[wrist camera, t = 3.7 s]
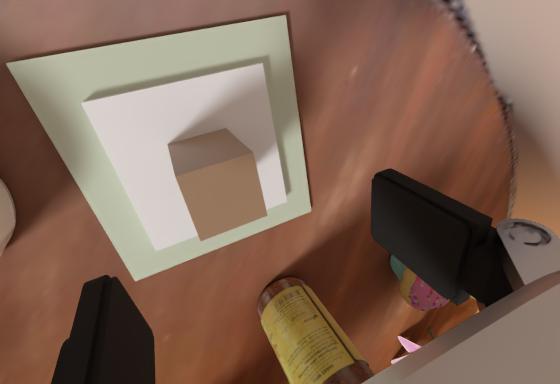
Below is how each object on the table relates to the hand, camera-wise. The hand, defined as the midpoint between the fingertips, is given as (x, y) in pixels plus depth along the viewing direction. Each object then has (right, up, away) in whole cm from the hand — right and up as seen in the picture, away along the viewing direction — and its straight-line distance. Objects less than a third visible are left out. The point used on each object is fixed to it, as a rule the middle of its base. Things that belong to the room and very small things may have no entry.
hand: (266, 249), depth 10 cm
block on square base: (-5, +4, +11) cm, 13 cm away
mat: (-5, +5, +11) cm, 13 cm away
